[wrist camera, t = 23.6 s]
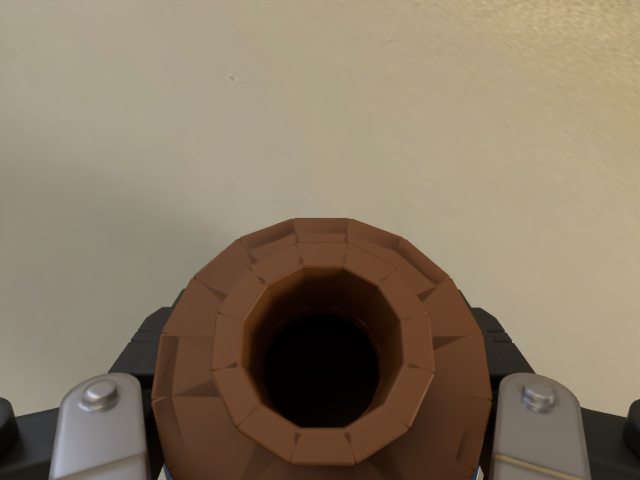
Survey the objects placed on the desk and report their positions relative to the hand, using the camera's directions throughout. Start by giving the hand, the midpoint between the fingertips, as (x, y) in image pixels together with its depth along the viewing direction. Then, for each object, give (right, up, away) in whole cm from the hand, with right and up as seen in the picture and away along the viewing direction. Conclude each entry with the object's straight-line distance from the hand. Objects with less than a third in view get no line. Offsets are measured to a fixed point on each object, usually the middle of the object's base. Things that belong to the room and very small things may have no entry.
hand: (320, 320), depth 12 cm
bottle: (0, -4, +4) cm, 5 cm away
